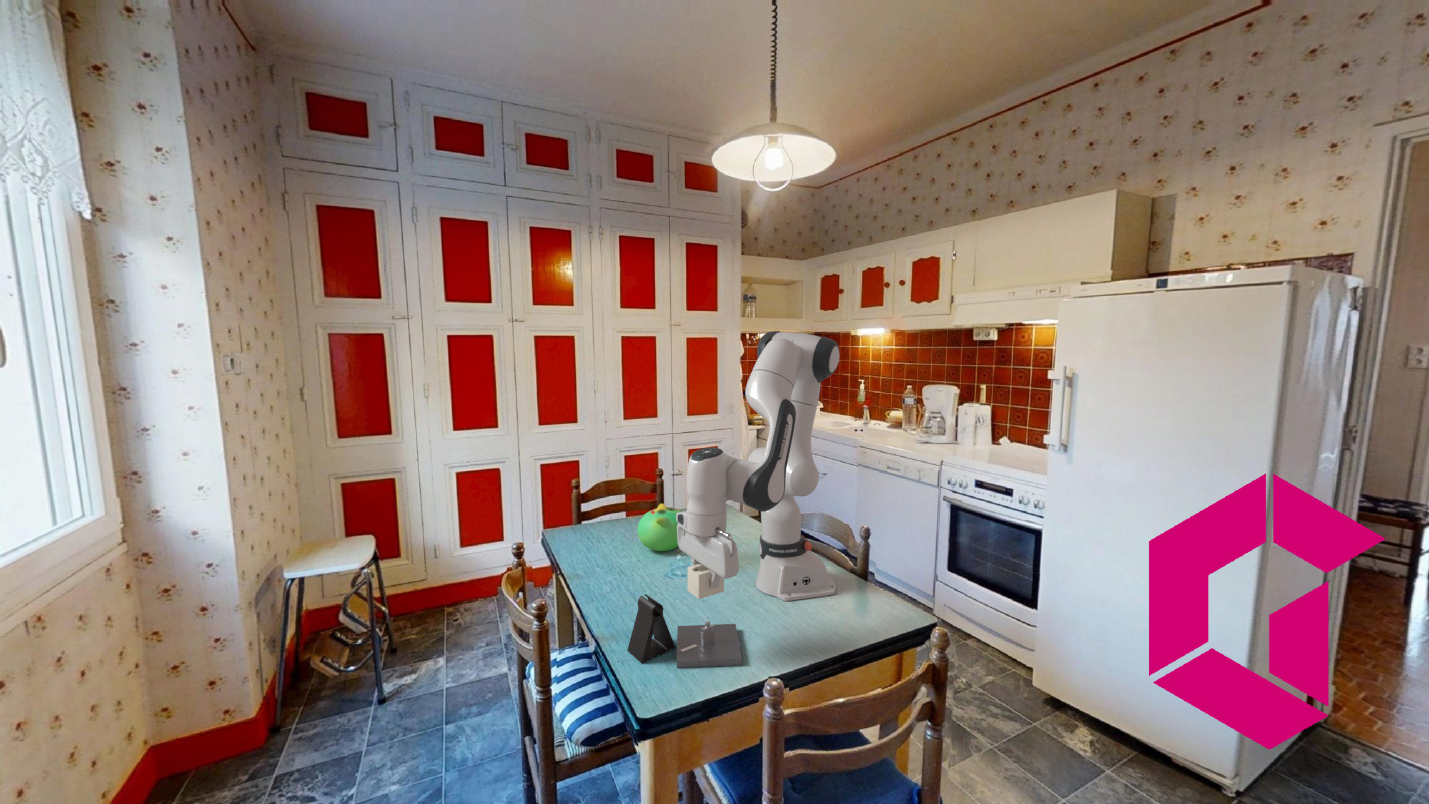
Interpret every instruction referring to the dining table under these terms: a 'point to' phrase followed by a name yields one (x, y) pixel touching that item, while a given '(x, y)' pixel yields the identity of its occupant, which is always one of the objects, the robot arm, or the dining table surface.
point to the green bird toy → (659, 528)
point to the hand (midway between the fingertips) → (706, 581)
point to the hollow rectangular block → (702, 582)
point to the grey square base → (708, 646)
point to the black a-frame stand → (649, 631)
